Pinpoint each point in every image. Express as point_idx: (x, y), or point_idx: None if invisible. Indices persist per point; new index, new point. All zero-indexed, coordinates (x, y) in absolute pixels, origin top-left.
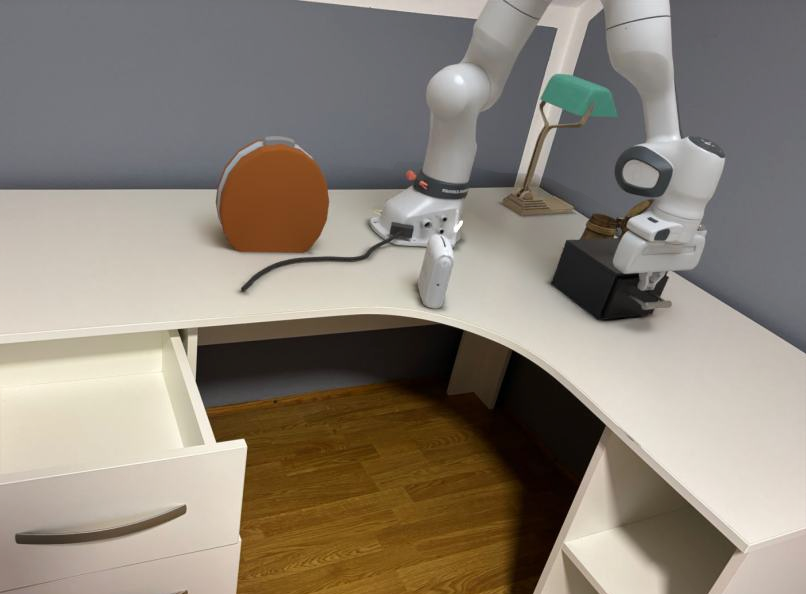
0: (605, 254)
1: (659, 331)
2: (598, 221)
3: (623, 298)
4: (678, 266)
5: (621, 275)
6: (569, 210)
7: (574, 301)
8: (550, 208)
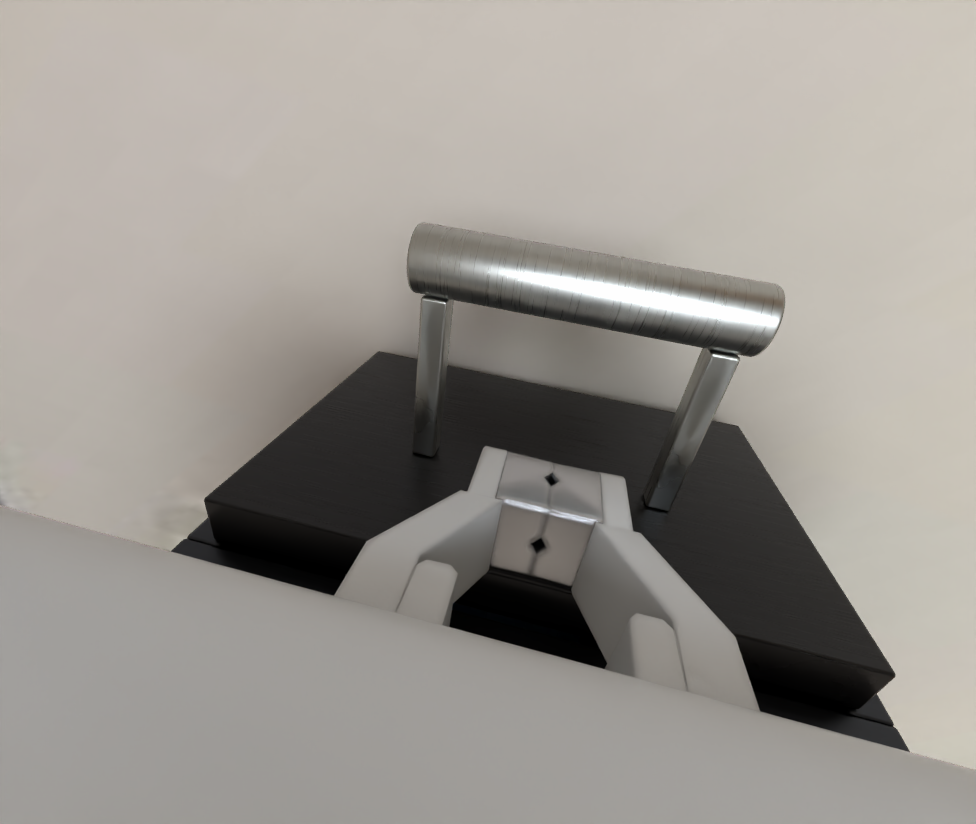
0: None
1: (465, 216)
2: None
3: (686, 488)
4: (60, 619)
5: (815, 720)
6: None
7: None
8: None
